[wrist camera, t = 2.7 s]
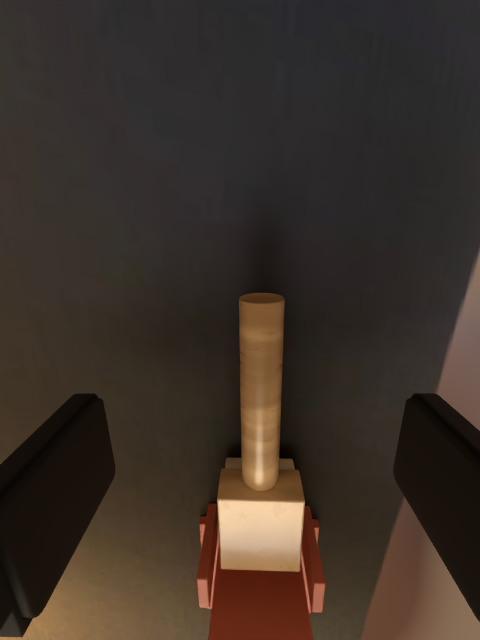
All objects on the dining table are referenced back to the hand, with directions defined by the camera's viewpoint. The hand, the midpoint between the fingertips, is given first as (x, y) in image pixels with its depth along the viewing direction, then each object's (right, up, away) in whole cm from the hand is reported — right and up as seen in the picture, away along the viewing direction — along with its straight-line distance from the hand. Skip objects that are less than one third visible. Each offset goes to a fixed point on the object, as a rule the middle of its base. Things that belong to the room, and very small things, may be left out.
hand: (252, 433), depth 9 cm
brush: (+1, -2, +7) cm, 8 cm away
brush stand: (+1, -14, +12) cm, 18 cm away
